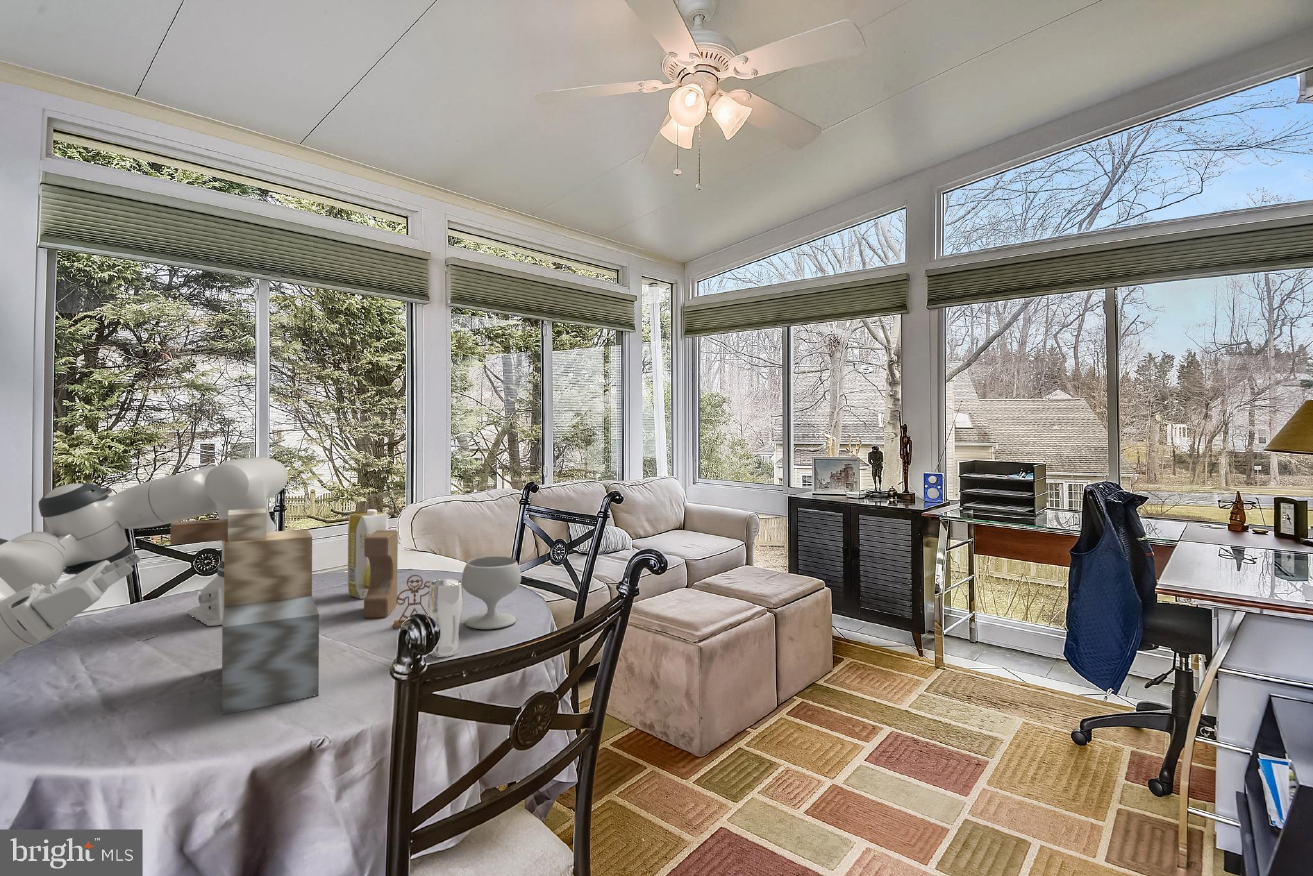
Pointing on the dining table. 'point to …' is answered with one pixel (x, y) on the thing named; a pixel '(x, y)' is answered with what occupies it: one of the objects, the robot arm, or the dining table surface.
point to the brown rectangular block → (222, 528)
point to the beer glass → (446, 613)
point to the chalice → (491, 588)
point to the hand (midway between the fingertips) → (134, 561)
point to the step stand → (269, 622)
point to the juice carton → (361, 549)
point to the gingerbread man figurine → (399, 622)
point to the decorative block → (381, 573)
